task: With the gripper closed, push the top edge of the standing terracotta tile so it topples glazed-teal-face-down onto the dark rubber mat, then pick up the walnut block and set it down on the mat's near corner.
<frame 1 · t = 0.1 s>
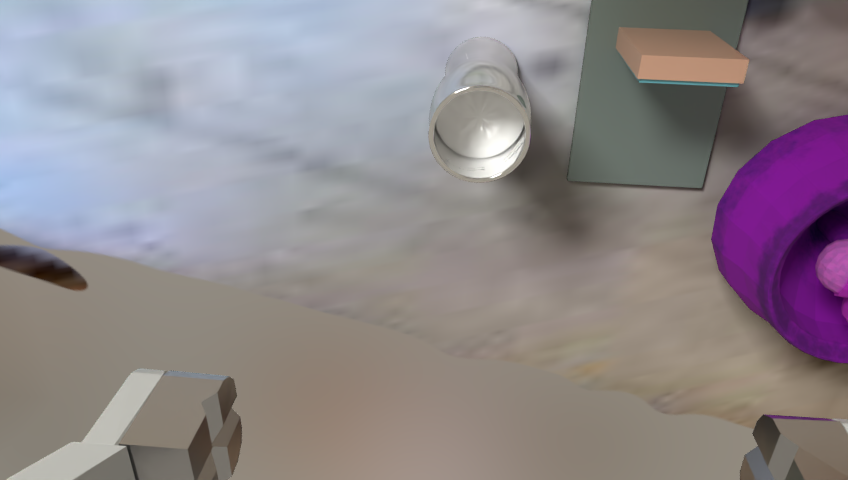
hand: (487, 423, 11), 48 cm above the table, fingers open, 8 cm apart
decorative plant: (810, 201, 59), on the table
tile: (662, 39, 53), point 1 cm above the table, touching mat
beer glass: (481, 72, 56), on the table
mat: (652, 81, 55), on the table
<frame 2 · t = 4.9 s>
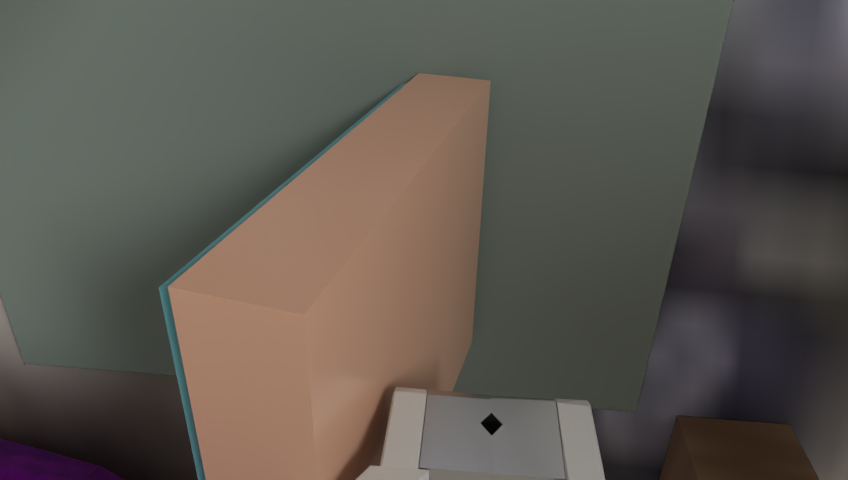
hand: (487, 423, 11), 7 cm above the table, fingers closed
tile: (448, 219, 16), point 1 cm above the table, tilted 12°, touching mat
walnut block: (720, 459, 20), on the table
mat: (313, 197, 17), on the table
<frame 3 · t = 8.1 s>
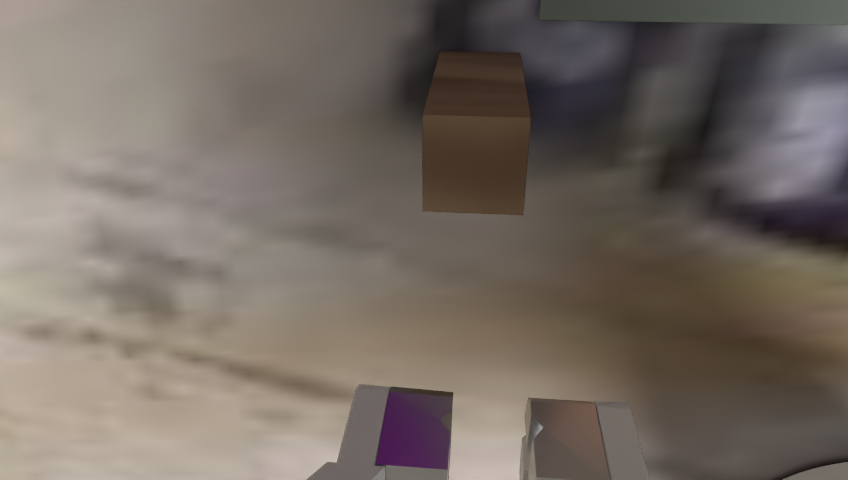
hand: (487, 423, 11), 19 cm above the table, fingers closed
walnut block: (478, 91, 28), on the table
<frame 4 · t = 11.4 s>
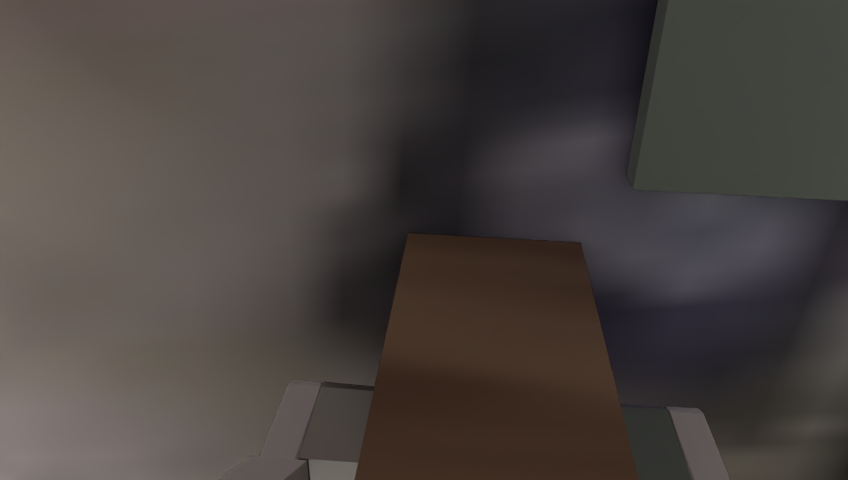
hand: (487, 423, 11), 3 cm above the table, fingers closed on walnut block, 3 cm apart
walnut block: (487, 308, 13), on the table, touching gripper
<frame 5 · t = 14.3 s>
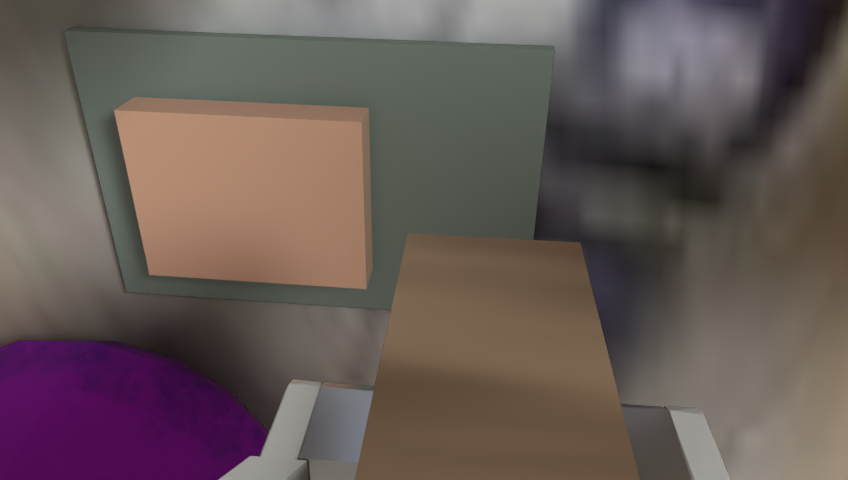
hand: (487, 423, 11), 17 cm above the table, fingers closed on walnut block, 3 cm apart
decorative plant: (150, 434, 36), on the table
tile: (367, 202, 26), point 2 cm above the table, tilted 90°, touching mat
walnut block: (487, 308, 13), point 14 cm above the table, touching gripper
mat: (316, 180, 28), on the table
when the fingers open (5 cm above the table, at t = 17.0 s): walnut block stays where it is, resting on mat.
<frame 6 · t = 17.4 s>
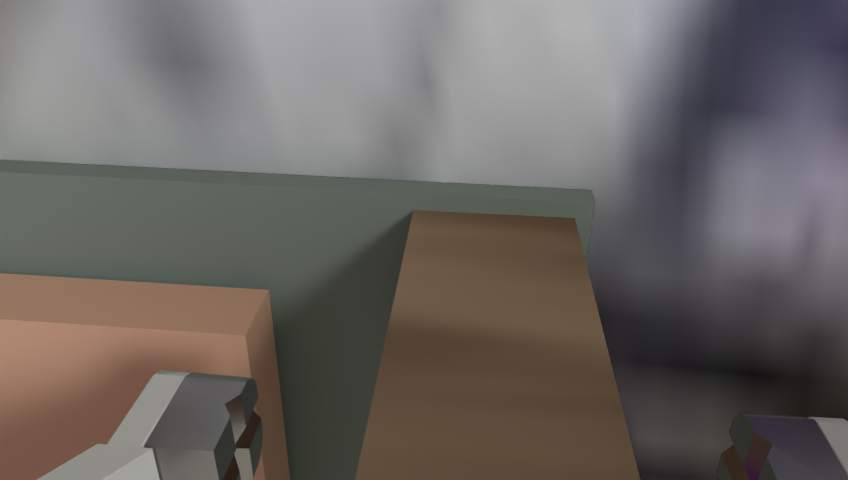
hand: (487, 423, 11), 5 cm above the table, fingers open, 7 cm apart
tile: (273, 437, 15), point 2 cm above the table, tilted 90°, touching mat
walnut block: (488, 281, 14), point 1 cm above the table, touching mat
mat: (198, 380, 17), on the table
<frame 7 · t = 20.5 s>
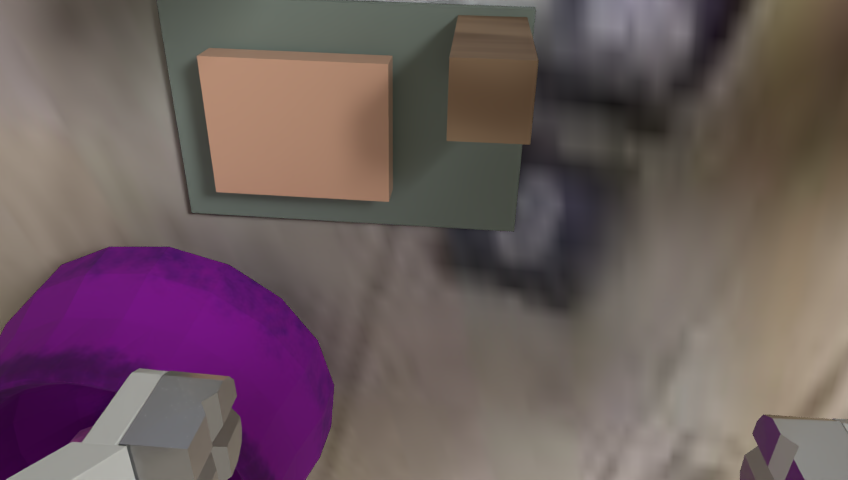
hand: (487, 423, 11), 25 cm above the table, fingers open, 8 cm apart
decorative plant: (202, 342, 43), on the table
tile: (390, 130, 33), point 2 cm above the table, tilted 90°, touching mat
walnut block: (490, 50, 32), point 1 cm above the table, touching mat
mat: (348, 117, 35), on the table
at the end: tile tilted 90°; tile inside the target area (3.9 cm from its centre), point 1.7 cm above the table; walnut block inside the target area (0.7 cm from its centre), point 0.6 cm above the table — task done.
